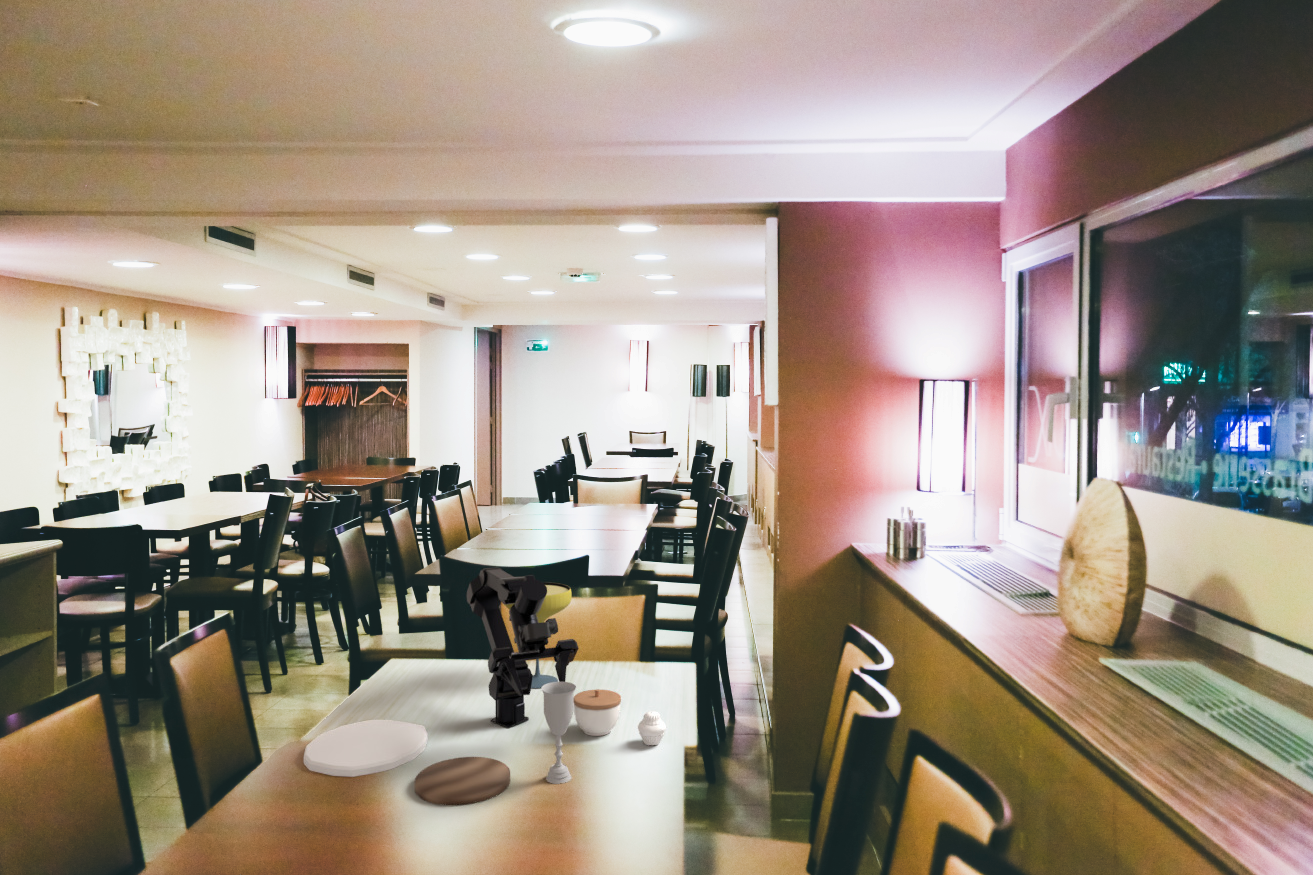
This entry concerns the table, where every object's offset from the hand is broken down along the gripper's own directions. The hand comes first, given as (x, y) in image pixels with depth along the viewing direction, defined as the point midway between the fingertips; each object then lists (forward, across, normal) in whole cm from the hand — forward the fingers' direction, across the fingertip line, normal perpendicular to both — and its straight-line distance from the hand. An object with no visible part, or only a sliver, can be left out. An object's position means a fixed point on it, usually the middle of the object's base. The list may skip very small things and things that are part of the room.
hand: (542, 691), depth 174 cm
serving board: (+13, -18, +7) cm, 23 cm away
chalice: (+17, 0, +3) cm, 18 cm away
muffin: (+12, +24, +8) cm, 28 cm away
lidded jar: (+4, +16, +16) cm, 23 cm away
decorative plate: (-4, -32, +25) cm, 41 cm away
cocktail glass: (-24, +14, +43) cm, 51 cm away
